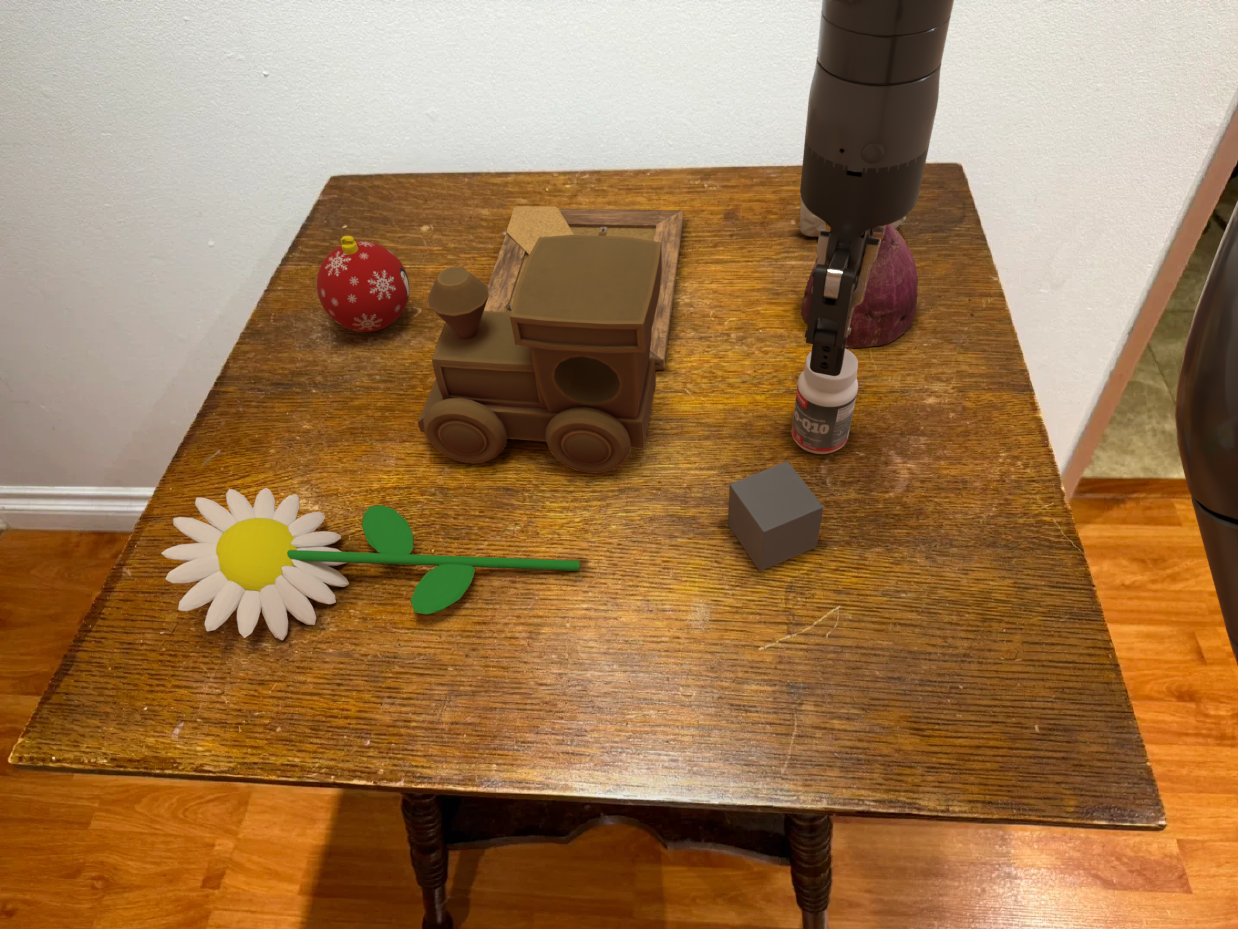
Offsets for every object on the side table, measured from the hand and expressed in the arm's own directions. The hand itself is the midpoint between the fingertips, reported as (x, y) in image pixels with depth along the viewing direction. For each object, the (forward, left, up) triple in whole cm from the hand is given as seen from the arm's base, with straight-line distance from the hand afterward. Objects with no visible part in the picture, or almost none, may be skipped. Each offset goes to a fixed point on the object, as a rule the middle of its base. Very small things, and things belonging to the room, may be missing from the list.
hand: (837, 334), depth 67 cm
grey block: (-10, +6, -11) cm, 16 cm away
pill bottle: (0, 0, -11) cm, 11 cm away
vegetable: (+15, -7, -11) cm, 20 cm away
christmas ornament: (+21, +40, -11) cm, 47 cm away
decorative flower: (-10, +36, -11) cm, 39 cm away
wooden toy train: (+4, +23, -11) cm, 26 cm away
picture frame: (+23, +19, -11) cm, 32 cm away
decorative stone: (+30, -10, -11) cm, 34 cm away
